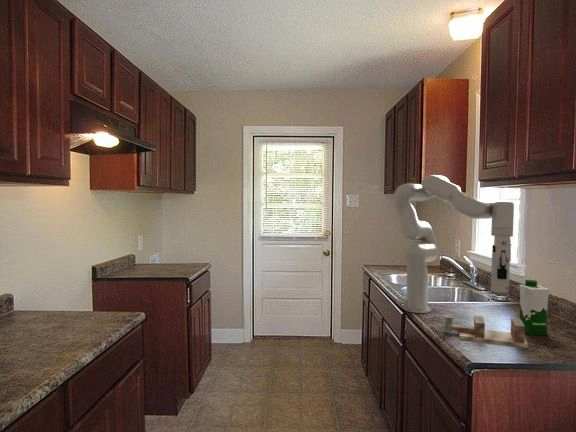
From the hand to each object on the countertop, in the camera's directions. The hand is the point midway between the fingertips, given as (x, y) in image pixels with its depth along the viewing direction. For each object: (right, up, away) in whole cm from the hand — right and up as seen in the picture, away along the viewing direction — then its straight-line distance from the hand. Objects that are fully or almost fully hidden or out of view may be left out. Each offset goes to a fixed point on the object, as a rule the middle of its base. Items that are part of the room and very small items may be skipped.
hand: (500, 277), depth 155 cm
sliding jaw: (-16, -20, -4) cm, 26 cm away
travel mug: (0, -7, 0) cm, 7 cm away
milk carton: (+13, -22, 0) cm, 25 cm away
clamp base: (-8, -22, -8) cm, 24 cm away
